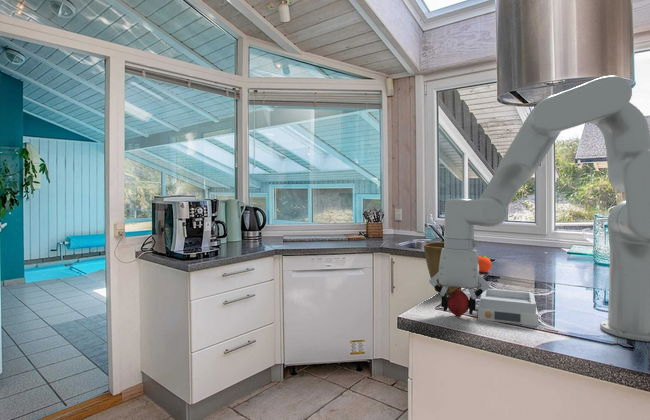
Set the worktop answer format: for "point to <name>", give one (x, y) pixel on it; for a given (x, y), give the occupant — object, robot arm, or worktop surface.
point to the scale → (508, 307)
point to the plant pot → (435, 261)
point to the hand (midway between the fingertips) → (458, 310)
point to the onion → (458, 302)
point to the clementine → (484, 264)
